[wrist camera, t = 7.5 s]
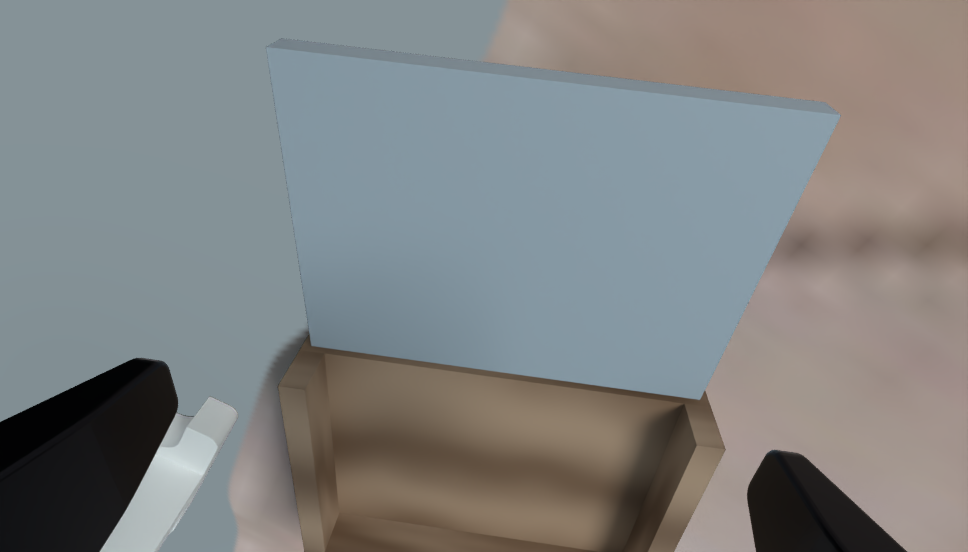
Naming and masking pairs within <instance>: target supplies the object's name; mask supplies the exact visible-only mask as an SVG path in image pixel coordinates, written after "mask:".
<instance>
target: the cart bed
mask: <svg viewBox="0 0 968 552" xmlns="http://www.w3.org/2000/svg"><path fill="white" fill-rule="evenodd" d="M278 391H279V397H280V403H281V410H282V416H283V422H284V428H285V434H286V440H287V447H288V453H289V459H290V465H291V471H292V478H293V484H294V490H295V496H296V502H297V509H298V515H299V521H300V527H301V533H302V540H303V546H304V552H674V550H675V548H676V547H677V545H678V543H679V541H680V539H681V537H682V535H683V533H684V531H685V529H686V527H687V525H688V523H689V521H690V519H691V517H692V515H693V513H694V511H695V509H696V507H697V505H698V503H699V501H700V499H701V497H702V495H703V493H704V491H705V489H706V487H707V485H708V483H709V481H710V479H711V477H712V476H713V474H714V472H715V470H716V468H717V466H718V464H719V462H720V460H721V458H722V456H723V454H724V452H725V450H726V449H725V446H724V444H723V441H722V438H721V435H720V432H719V429H718V426H717V423H716V421H715V418H714V415H713V412H712V409H711V406H710V403H709V401H708V398H707V395H706V392H705V391H704V393H703V395H702V397H701V399H700V400H697V399H690V398H683V397H676V396H669V395H661V394H654V393H647V392H640V391H633V390H625V389H618V388H611V387H604V386H596V385H589V384H582V383H575V382H568V381H560V380H553V379H546V378H539V377H532V376H524V375H517V374H510V373H503V372H496V371H488V370H481V369H474V368H467V367H460V366H452V365H445V364H438V363H431V362H424V361H416V360H409V359H402V358H395V357H388V356H380V355H373V354H366V353H359V352H351V351H344V350H337V349H330V348H323V347H315V346H311V340H310V334H309V335H308V337H307V339H306V340H305V342H304V343H303V345H302V347H301V348H300V350H299V352H298V353H297V355H296V357H295V358H294V360H293V362H292V363H291V365H290V367H289V368H288V370H287V372H286V373H285V375H284V377H283V378H282V380H281V381H280V383H279V385H278Z"/></svg>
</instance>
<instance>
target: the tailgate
mask: <svg viewBox="0 0 968 552" xmlns="http://www.w3.org/2000/svg"><path fill="white" fill-rule="evenodd" d="M266 51H267V58H268V64H269V71H270V78H271V84H272V90H273V96H274V104H275V111H276V117H277V123H278V130H279V137H280V143H281V150H282V156H283V163H284V170H285V176H286V183H287V189H288V195H289V202H290V209H291V215H292V222H293V228H294V235H295V242H296V248H297V255H298V261H299V268H300V275H301V281H302V288H303V294H304V301H305V307H306V314H307V320H308V327H309V334H310V340H311V346H315V347H323V348H330V349H337V350H344V351H351V352H359V353H366V354H373V355H380V356H388V357H395V358H402V359H409V360H416V361H424V362H431V363H438V364H445V365H452V366H460V367H467V368H474V369H481V370H488V371H496V372H503V373H510V374H517V375H524V376H532V377H539V378H546V379H553V380H560V381H568V382H575V383H582V384H589V385H596V386H604V387H611V388H618V389H625V390H633V391H640V392H647V393H654V394H661V395H669V396H676V397H683V398H690V399H697V400H700V399H701V397H702V395H703V393H704V391H705V389H706V387H707V385H708V383H709V381H710V379H711V377H712V375H713V373H714V371H715V369H716V367H717V365H718V363H719V361H720V359H721V357H722V355H723V353H724V351H725V349H726V347H727V345H728V343H729V341H730V338H731V336H732V334H733V332H734V330H735V328H736V326H737V324H738V322H739V320H740V318H741V316H742V314H743V312H744V310H745V308H746V306H747V304H748V302H749V300H750V298H751V296H752V294H753V292H754V290H755V288H756V286H757V284H758V282H759V280H760V278H761V276H762V274H763V272H764V270H765V268H766V266H767V264H768V262H769V260H770V258H771V256H772V254H773V252H774V250H775V248H776V246H777V244H778V242H779V240H780V237H781V235H782V233H783V231H784V229H785V227H786V225H787V223H788V221H789V219H790V217H791V215H792V213H793V211H794V209H795V207H796V205H797V203H798V201H799V199H800V197H801V195H802V193H803V191H804V189H805V187H806V185H807V183H808V181H809V179H810V177H811V175H812V173H813V171H814V169H815V167H816V165H817V163H818V161H819V159H820V157H821V155H822V153H823V151H824V149H825V147H826V145H827V143H828V141H829V139H830V136H831V134H832V132H833V130H834V128H835V126H836V124H837V122H838V120H839V118H840V116H841V115H840V114H839V113H838V112H836V111H835V110H834V109H833V108H832V107H830V106H829V105H828V104H827V103H825V102H818V101H810V100H801V99H793V98H784V97H776V96H767V95H759V94H750V93H742V92H733V91H725V90H716V89H708V88H699V87H691V86H682V85H674V84H665V83H657V82H648V81H640V80H631V79H623V78H614V77H606V76H597V75H589V74H581V73H572V72H564V71H555V70H547V69H538V68H530V67H521V66H513V65H504V64H496V63H487V62H479V61H470V60H461V59H453V58H445V57H436V56H427V55H419V54H411V53H402V52H394V51H385V50H377V49H368V48H360V47H351V46H343V45H334V44H325V43H316V42H308V41H300V40H291V39H283V38H281V39H279V40H277V41H276V42H274V43H272V44H270V45H269V46H267V47H266Z"/></svg>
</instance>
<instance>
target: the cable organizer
mask: <svg viewBox="0 0 968 552" xmlns="http://www.w3.org/2000/svg"><path fill="white" fill-rule="evenodd" d="M237 419H238V412H237V411H236V409H235V408H234V407H232V406H231V405H229V404H227V403H225V402H222V401H220V400H218V399H216V398H214V397H212V396H209V398H208V399H207V400H206V402H205V403H204V404H203V406H202V407H201V408H200V410H199V411H198V412H197V414H196V415H195V416H186V415H182V414H180V413H178V412H176V415H175V417H174V419H173V421H172V423H171V425H170V427H169V429H168V431H167V433H166V435H165V437H164V439H163V441H162V443H161V445H160V446H159V448H158V450H157V452H156V454H155V456H154V458H153V460H152V462H151V464H150V466H149V468H148V470H147V472H146V474H145V476H144V478H143V480H142V481H141V483H140V485H139V487H138V489H137V491H136V493H135V495H134V497H133V499H132V500H131V502H130V504H129V506H128V508H127V509H126V511H125V513H124V514H123V516H122V517H121V519H120V521H119V522H118V524H117V526H116V527H115V529H114V530H113V532H112V533H111V535H110V536H109V538H108V540H107V541H106V543H105V544H104V546H103V547H102V549H101V550H100V552H158V551H159V549H160V547H161V546H162V544H163V543H164V541H165V539H166V538H167V536H168V535H169V533H171V532H173V531H174V529H175V528H176V526H177V524H178V522H179V521H180V520H181V518H182V516H183V515H184V513H185V512H186V510H187V509H188V507H189V506H190V504H191V502H192V501H193V499H194V497H195V495H196V494H197V492H198V490H199V488H200V486H201V484H202V482H203V481H204V479H205V477H206V475H207V473H208V472H209V470H210V468H211V466H212V464H213V462H214V460H215V459H216V457H217V455H218V453H219V451H220V450H221V448H222V446H223V444H224V442H225V440H226V439H227V437H228V435H229V433H230V431H231V430H232V428H233V426H234V424H235V422H236V420H237Z"/></svg>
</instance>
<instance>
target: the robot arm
mask: <svg viewBox="0 0 968 552" xmlns="http://www.w3.org/2000/svg"><path fill="white" fill-rule="evenodd" d="M177 408H178V398H177V394H176V391H175V387H174V384H173V380H172V377H171V374H170V370H169V367H168V366H167V364H166V363H165V362H163V361H159V360H152V359H145V358H135V359H132V360H130V361H127V362H126V363H123V364H121V365H119V366H117V367H115V368H113V369H111V370H109V371H106V372H104V373H102V374H100V375H98V376H96V377H94V378H92V379H90V380H88V381H85V382H83V383H81V384H79V385H77V386H75V387H73V388H71V389H69V390H66V391H64V392H62V393H60V394H58V395H56V396H54V397H52V398H50V399H48V400H45V401H43V402H41V403H39V404H37V405H35V406H33V407H31V408H29V409H27V410H25V411H22V412H20V413H18V414H16V415H14V416H12V417H10V418H8V419H6V420H3V421H1V422H0V552H100V550H101V549H102V547H103V546H104V544H105V543H106V541H107V540H108V538H109V536H110V535H111V533H112V532H113V530H114V529H115V527H116V526H117V524H118V522H119V521H120V519H121V517H122V516H123V514H124V513H125V511H126V509H127V508H128V506H129V504H130V502H131V500H132V499H133V497H134V495H135V493H136V491H137V489H138V487H139V485H140V483H141V481H142V480H143V478H144V476H145V474H146V472H147V470H148V468H149V466H150V464H151V462H152V460H153V458H154V456H155V454H156V452H157V450H158V448H159V446H160V445H161V443H162V441H163V439H164V437H165V435H166V433H167V431H168V429H169V427H170V425H171V423H172V421H173V419H174V417H175V415H176V412H177ZM747 500H748V507H749V513H750V518H751V524H752V530H753V536H754V542H755V548H756V552H907V551H906V550H905V549H904V548H903V547H901V546H900V545H899V544H898V543H897V542H896V541H895V540H894V539H893V538H892V537H891V536H890V535H889V534H887V533H886V532H885V531H884V530H883V529H882V528H881V527H880V526H879V525H878V524H877V523H876V522H875V521H873V520H872V519H871V518H870V517H869V516H868V515H867V514H866V513H865V512H864V511H863V510H862V509H861V508H859V507H858V506H857V505H856V504H855V503H854V502H853V501H852V500H851V499H850V498H849V497H848V496H847V495H845V494H844V493H843V492H842V491H841V490H840V489H839V488H838V487H837V486H836V485H835V484H834V483H833V482H832V481H830V480H829V479H828V478H827V477H826V476H825V475H824V474H823V473H822V472H821V471H820V470H819V469H818V468H816V467H815V466H814V465H813V464H812V463H811V462H810V461H809V460H808V459H807V458H805V457H804V456H803V455H801V454H798V453H794V452H787V451H780V450H771V451H770V452H768V453H767V454H766V456H765V457H764V459H763V461H762V462H761V464H760V466H759V468H758V469H757V471H756V473H755V475H754V476H753V478H752V480H751V482H750V484H749V487H748V492H747Z"/></svg>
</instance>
